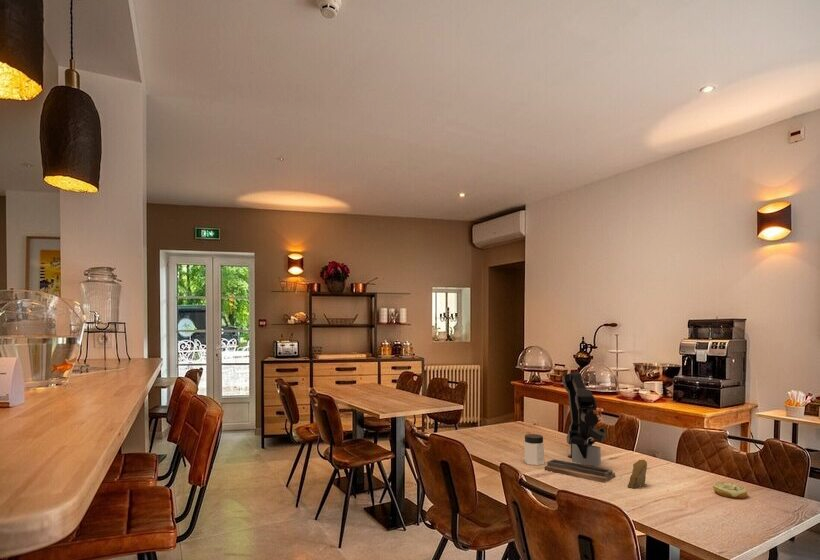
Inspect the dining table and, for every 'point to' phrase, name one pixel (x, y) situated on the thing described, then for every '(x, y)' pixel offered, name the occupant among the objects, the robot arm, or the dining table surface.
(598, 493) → the dining table surface
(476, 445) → the dining table surface
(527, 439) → the jar
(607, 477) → the track board
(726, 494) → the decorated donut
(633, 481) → the rock
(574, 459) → the door panel
